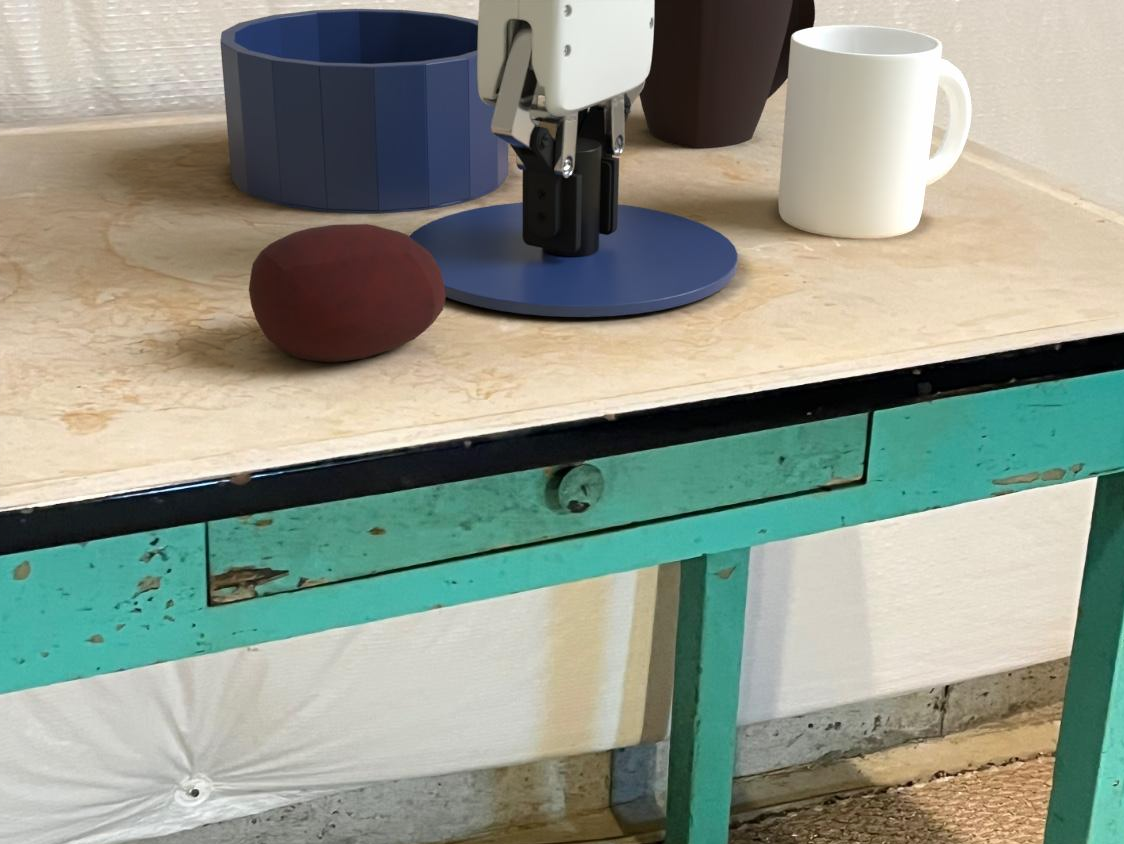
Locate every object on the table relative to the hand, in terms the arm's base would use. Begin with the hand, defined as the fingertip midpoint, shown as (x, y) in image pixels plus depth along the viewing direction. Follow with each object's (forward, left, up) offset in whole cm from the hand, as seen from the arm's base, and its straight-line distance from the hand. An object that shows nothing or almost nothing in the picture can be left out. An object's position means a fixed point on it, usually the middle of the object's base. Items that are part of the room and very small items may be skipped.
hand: (570, 235), depth 89 cm
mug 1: (-6, +30, -2) cm, 31 cm away
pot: (-19, +8, -2) cm, 21 cm away
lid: (0, 0, -1) cm, 1 cm away
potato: (-2, -16, -2) cm, 16 cm away
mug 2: (+10, +18, -2) cm, 21 cm away
